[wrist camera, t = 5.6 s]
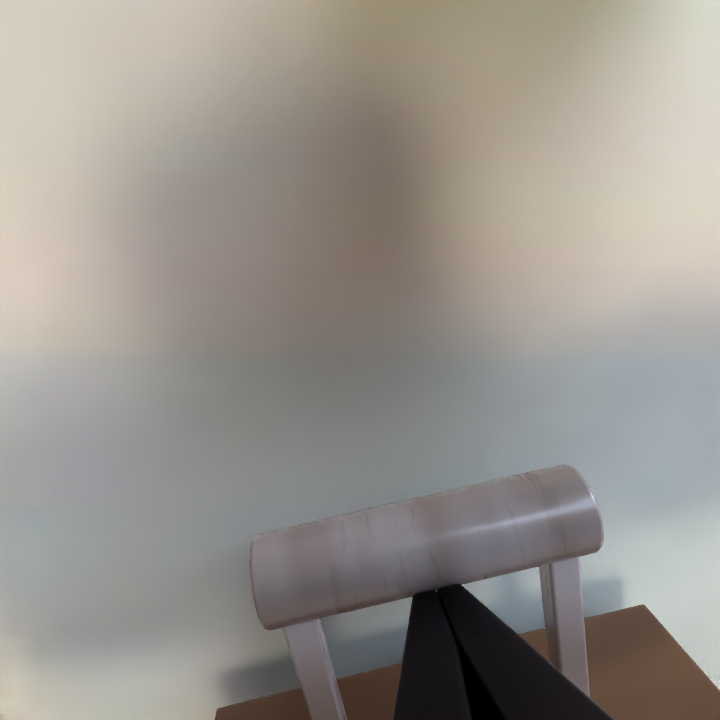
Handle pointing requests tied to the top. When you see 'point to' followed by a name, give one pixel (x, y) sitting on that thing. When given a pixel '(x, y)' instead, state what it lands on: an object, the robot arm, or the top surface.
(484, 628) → the robot arm
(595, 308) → the top surface
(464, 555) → the drawer
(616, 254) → the top surface
